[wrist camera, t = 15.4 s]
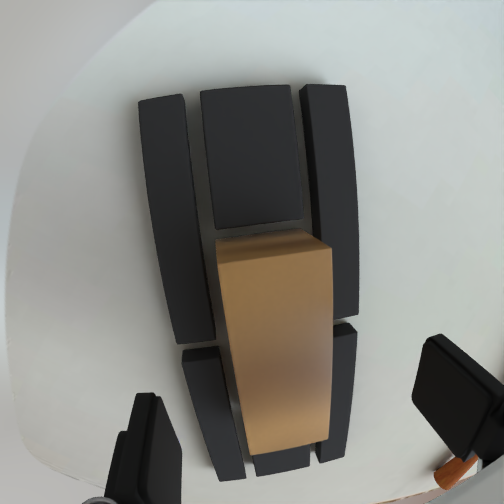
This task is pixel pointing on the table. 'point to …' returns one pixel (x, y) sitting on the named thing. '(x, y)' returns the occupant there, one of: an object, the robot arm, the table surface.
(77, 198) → the table surface
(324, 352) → the block
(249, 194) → the pad
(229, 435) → the pad
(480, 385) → the robot arm
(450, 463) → the kendama
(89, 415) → the table surface
